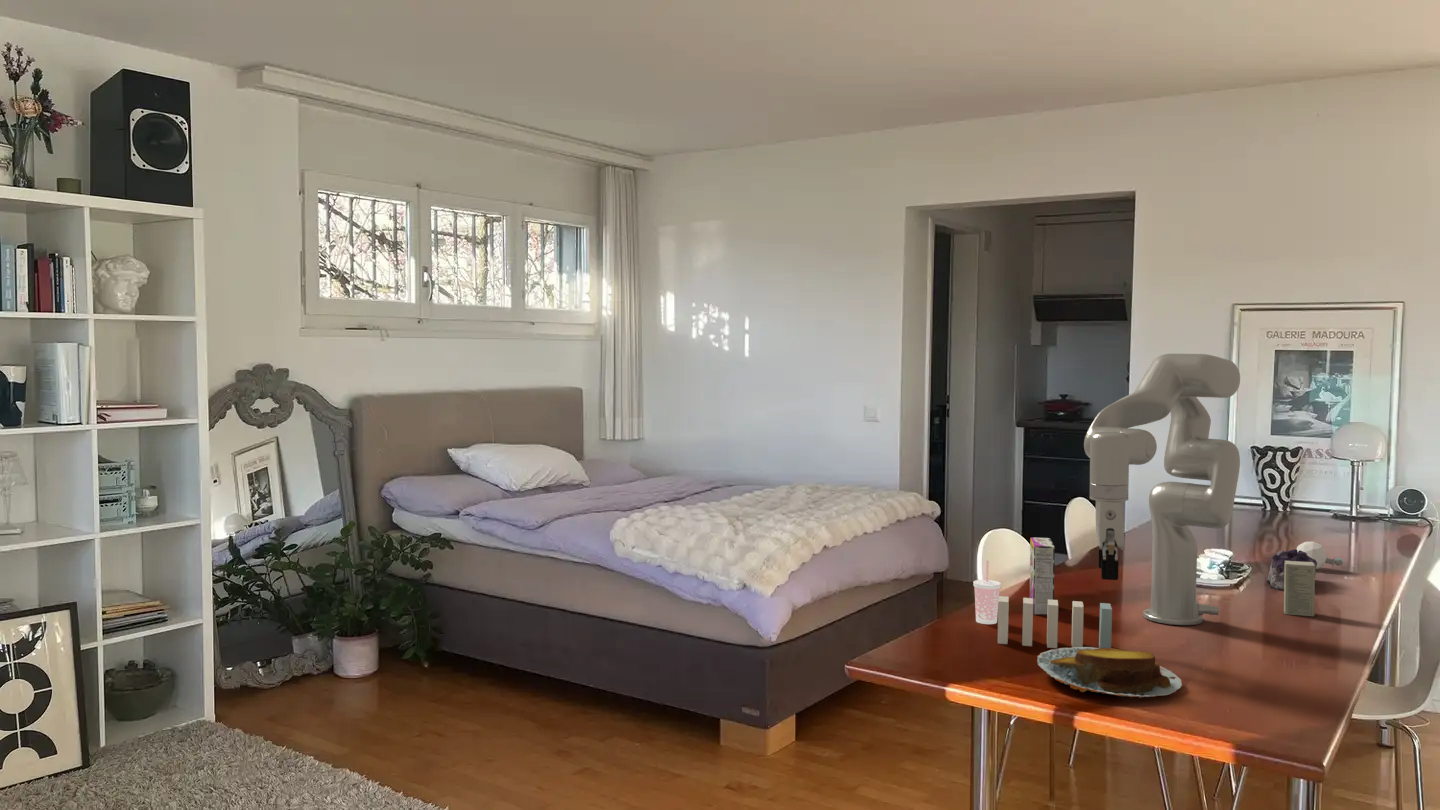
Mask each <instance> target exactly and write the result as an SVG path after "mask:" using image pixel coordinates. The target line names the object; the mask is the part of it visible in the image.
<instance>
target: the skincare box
mask: <svg viewBox="0 0 1440 810" xmlns="http://www.w3.org/2000/svg"><path fill="white" fill-rule="evenodd" d="M1315 579H1316V575H1315V564H1314V563H1313V562H1302V561H1286V560H1285V573H1284V591H1283V594H1284V595H1283V612H1284V614H1285V615H1293V616H1301V617H1302V616H1303V617H1315V598H1316V597H1315V596H1316V595H1315V588H1316V587H1315V585H1316V584H1315V583H1316V580H1315Z"/></svg>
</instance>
